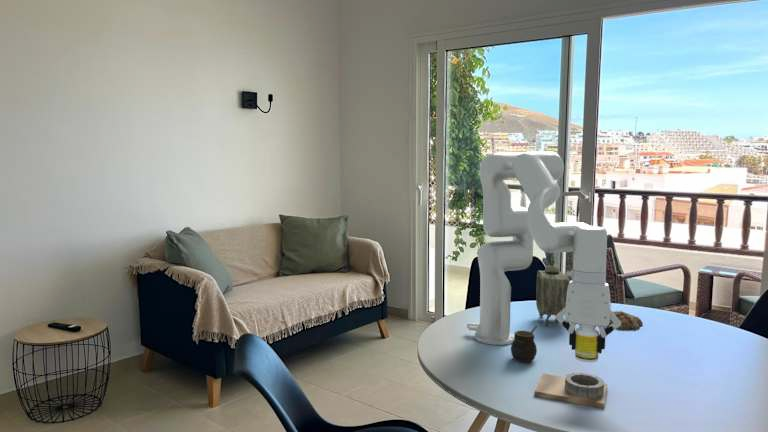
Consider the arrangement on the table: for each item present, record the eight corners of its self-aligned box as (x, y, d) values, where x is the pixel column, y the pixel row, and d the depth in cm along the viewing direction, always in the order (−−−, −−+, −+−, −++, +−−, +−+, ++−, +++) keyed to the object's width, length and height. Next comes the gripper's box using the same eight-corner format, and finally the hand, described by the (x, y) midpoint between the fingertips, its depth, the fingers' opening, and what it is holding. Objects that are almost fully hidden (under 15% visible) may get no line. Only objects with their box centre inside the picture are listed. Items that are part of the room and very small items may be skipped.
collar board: (534, 395, 135) (534, 381, 135) (542, 377, 146) (542, 364, 146) (604, 408, 128) (604, 393, 128) (607, 388, 139) (607, 374, 139)
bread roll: (607, 318, 199) (608, 304, 199) (644, 324, 192) (645, 310, 192) (598, 327, 189) (598, 313, 188) (636, 334, 182) (637, 319, 181)
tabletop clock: (535, 315, 202) (537, 248, 199) (561, 316, 200) (563, 248, 198) (541, 327, 187) (543, 255, 185) (568, 328, 186) (571, 256, 183)
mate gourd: (505, 357, 161) (506, 324, 160) (526, 354, 164) (527, 321, 163) (520, 366, 154) (521, 331, 153) (542, 362, 157) (543, 328, 156)
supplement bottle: (600, 363, 131) (601, 323, 130) (576, 362, 132) (577, 322, 131) (596, 355, 137) (597, 317, 136) (573, 354, 138) (574, 316, 137)
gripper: (550, 277, 133) (548, 349, 135) (627, 283, 125) (624, 360, 127) (554, 271, 139) (552, 340, 141) (628, 277, 132) (625, 350, 134)
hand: (586, 349), depth 134 cm, fingers closed on supplement bottle, 5 cm apart
